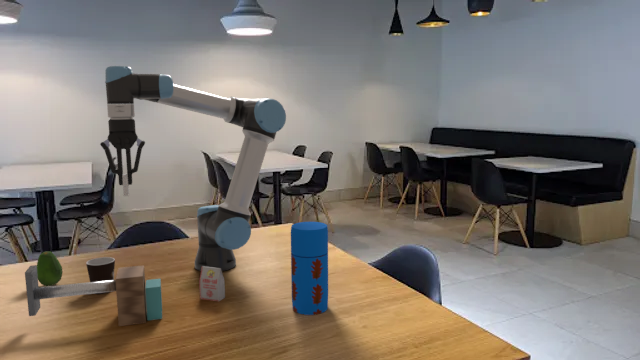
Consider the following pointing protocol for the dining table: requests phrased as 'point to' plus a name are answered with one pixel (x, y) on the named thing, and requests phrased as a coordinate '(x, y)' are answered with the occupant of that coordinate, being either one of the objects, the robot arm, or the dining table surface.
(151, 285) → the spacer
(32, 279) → the shaft
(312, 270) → the thermos
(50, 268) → the avocado
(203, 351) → the dining table surface
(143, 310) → the bearing block
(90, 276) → the coffee mug
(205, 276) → the white paper food packet
